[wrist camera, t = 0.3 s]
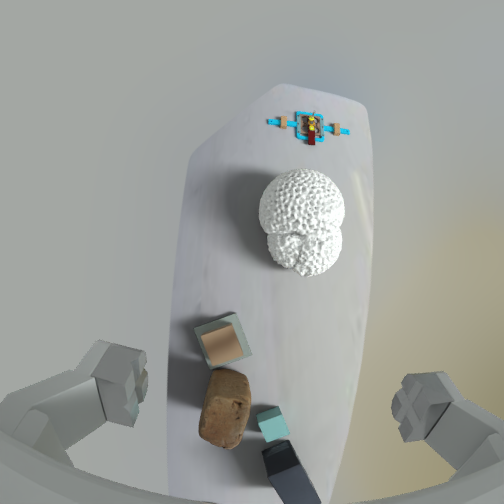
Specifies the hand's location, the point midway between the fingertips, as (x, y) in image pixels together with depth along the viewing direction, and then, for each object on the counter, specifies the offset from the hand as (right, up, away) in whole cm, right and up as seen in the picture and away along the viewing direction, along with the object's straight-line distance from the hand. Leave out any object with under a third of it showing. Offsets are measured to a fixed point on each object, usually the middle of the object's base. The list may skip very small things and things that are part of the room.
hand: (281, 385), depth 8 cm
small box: (+7, -44, +48) cm, 65 cm away
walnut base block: (-7, -14, +50) cm, 52 cm away
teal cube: (+3, -31, +49) cm, 58 cm away
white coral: (+9, +9, +56) cm, 57 cm away
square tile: (-7, -14, +51) cm, 53 cm away
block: (-6, -24, +50) cm, 56 cm away
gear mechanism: (+13, +33, +60) cm, 70 cm away
